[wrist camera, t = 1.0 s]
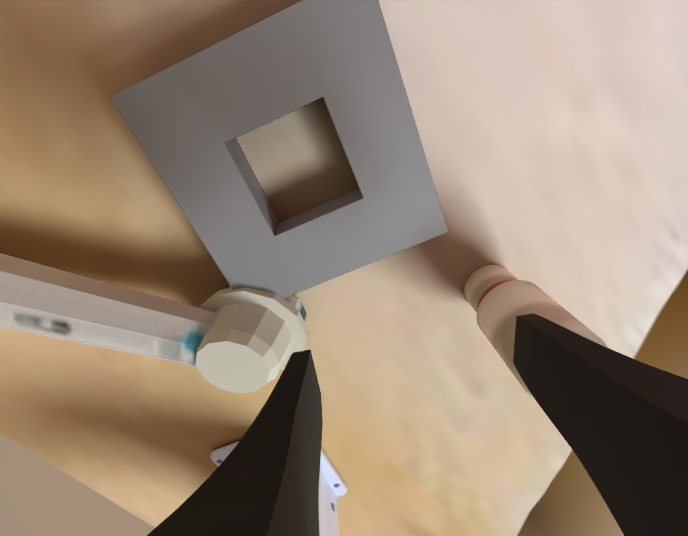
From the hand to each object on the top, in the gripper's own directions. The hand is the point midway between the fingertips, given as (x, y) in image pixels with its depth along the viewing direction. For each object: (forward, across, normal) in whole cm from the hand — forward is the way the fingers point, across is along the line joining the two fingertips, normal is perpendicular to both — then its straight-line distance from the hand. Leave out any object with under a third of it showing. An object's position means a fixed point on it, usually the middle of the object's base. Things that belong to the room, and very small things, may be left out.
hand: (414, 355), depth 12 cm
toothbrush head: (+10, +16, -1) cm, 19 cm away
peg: (+10, -7, +4) cm, 13 cm away
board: (+10, +3, -6) cm, 12 cm away
